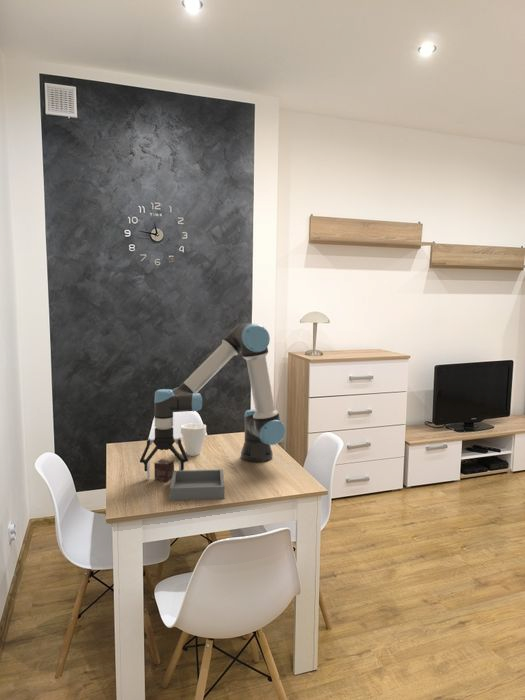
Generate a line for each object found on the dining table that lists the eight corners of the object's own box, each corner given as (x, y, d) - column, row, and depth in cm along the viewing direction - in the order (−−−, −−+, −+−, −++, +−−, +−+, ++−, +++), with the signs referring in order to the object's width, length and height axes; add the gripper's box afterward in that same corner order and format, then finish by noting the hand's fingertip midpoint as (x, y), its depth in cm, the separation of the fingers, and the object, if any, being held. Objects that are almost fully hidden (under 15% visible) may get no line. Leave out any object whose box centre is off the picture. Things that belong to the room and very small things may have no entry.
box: (174, 477, 206) (174, 460, 205) (167, 482, 200) (167, 464, 200) (161, 475, 208) (161, 458, 207) (154, 480, 202) (154, 462, 202)
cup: (211, 452, 242) (211, 425, 241) (195, 458, 232) (195, 430, 230) (192, 448, 248) (192, 422, 247) (175, 454, 238) (175, 426, 237)
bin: (222, 480, 203) (222, 469, 202) (224, 498, 183) (224, 486, 183) (173, 481, 201) (173, 470, 200) (169, 500, 181) (169, 488, 180)
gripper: (194, 424, 207) (194, 474, 209) (135, 425, 205) (135, 476, 206) (193, 428, 200) (193, 480, 202) (132, 429, 197) (132, 482, 199)
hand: (164, 478), depth 204 cm, fingers open, 12 cm apart
